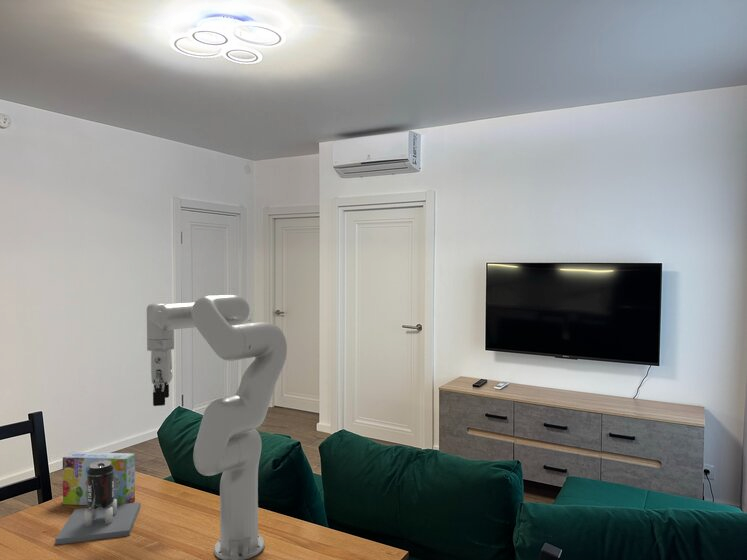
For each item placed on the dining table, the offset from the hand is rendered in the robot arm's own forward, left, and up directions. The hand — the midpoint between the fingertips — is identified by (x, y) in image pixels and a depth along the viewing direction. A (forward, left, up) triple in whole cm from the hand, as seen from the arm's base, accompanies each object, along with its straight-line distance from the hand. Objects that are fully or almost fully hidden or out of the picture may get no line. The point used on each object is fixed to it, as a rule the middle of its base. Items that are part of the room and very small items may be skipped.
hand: (161, 401), depth 157 cm
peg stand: (-4, +16, -33) cm, 37 cm away
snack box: (+12, +20, -34) cm, 41 cm away
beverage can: (-4, +16, -28) cm, 32 cm away
